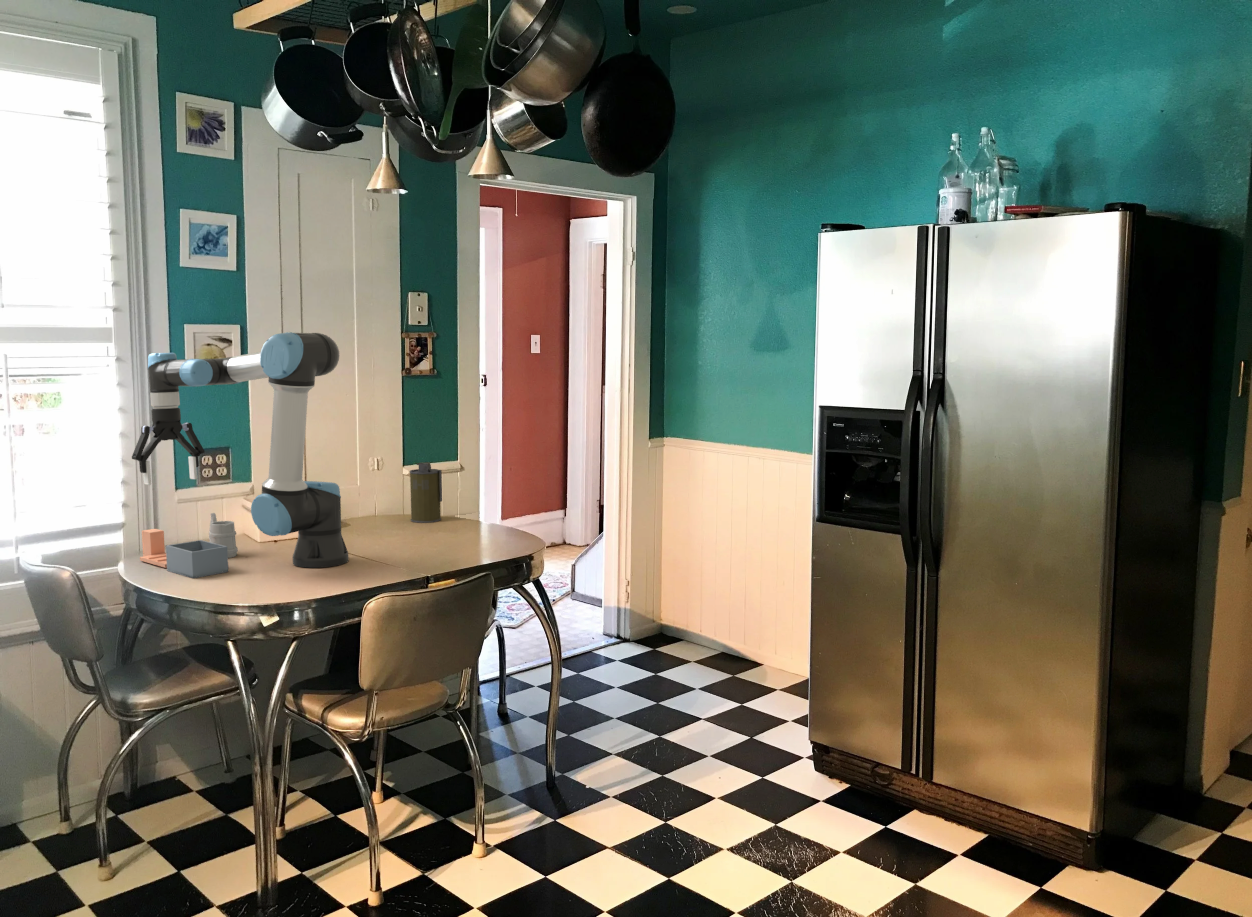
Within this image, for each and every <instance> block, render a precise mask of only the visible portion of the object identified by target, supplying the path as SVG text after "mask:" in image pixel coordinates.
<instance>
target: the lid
mask: <svg viewBox="0 0 1252 917" xmlns="http://www.w3.org/2000/svg"><path fill="white" fill-rule="evenodd" d="M141 543H142V556H139V561H141V562H144V563H146V564H147V563H148V564H151V565H154V566H158V567H161V568H165V569H167V558H166V545H165V531H164V529H158V528H152V529H149V528H148V529H144V530H141Z"/></svg>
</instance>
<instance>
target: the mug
mask: <svg viewBox="0 0 1252 917" xmlns="http://www.w3.org/2000/svg"><path fill="white" fill-rule="evenodd" d="M236 531H237V530H236V528H235V521H233V520H232V521H231V520H219V521H218V520H217V515H216V513H215V512H212V513H210V523H209V532H208V539H209V542H211V543H215V544H219V545H223V546H227V553H228V559H230V558H234V557H236V556H237V555H238V553H237V552H238V550H239V549H238V546H237V540H236V535H237V532H236Z"/></svg>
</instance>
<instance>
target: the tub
mask: <svg viewBox="0 0 1252 917" xmlns="http://www.w3.org/2000/svg"><path fill="white" fill-rule="evenodd" d="M165 553H166V558H167V568H166V570H167V572H170V573H173V574H176V575H180V576H183V577H187V578H190V579H197V578H202V577H208V576H214V575H219V574H224V573H228V572H229V558H228V553H227V546H223V545H219V544H215V543H211V542H210V541H206V540H204V539H203V540H202V539H199V540H192V541H187V542H186V541H185V542H180V543H174V544H173V543H172V544H167V545H165Z"/></svg>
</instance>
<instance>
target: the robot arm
mask: <svg viewBox="0 0 1252 917" xmlns="http://www.w3.org/2000/svg"><path fill="white" fill-rule="evenodd" d="M339 350H340V349H339V346H338V344H337V343H336V342H335V341H334V340H333V339H332V338H331V337H330V336H328V335H327V334H323V333H320V332H281V333H275V334H273V335H271V336H270V337H269V338H268V339H267V340H266V341H265V342H264V343H263V345H262V347H261V350H260V351H259V352H251V353H247V354H246V353H245V354H241V355H234V356H228V357H224V358H222V357H221V358H220V357H219V358H187V359H178V358H177V354H176V353H175V352H153V353H150V354H148V357H147V370H148V382H149V391H150V393H149V395H150V396H149V397H150V406H151V407H153V408H152V409H151V410H150V411H151V421H152V426H148V425H142V426H141V429H140V431H141V432H140V436H139V438H138V440H137V443H136V446H135V448H134V451H133V452H132V455H131V459H132V460H135V461H137V462H138V463H139V464H138V465H139V472H140V473H141V474H142V475H143V476H142V478H143V485H149V486H150V485H152V478H151V476H152V475H151V463H150V460H148V459H149V457H151V454H153V452H154V450H155V449H156V447H157V446H158V444H160V443H161V442H162V441H170V440H171V441H172V440H173V441H175V440H176V441H177V442H178V443H179V444H180V445H181V446H182V447H183V449H185V450H186V451H187V452H188V453H189V454H190V455H191V456H188V470H189V471H188V472H189V479H190V480H197V479H198V473H197V472H198V470H197V468H199V466H200V463H199V462H200V460H199V457H201V455H202V454H204V453H205V449H204V447H203V446H202V444H201V441H200V440H199V439H198V437H197V435H196V433H195V431H194V429H193V424H192V422H184V423H182V422H181V419H182V418H181V416H182V415H181V408H180V407H179V406H181V402H180V401H181V399H180V389H179V387H191V388H192V387H193V388H194V387H198V388H199V387H203V386H216V385H236V384H241V383H242V382H247V381H255V380H259V379H260V380H261V379H262V380H263V379H267V380H268V384H269V385H270V386H271V387H272V389H273V398H272V399H273V400H272V417H271V434H270V448H269V450H270V451H269V466H268V467H269V468H268V478H267V479H266V480H264V481H263V482H262V483H261V494H258V495H257V496H256V497H255V498H254V499H253V500H252V502H251V506H250V513H251V514H250V515H251V518H252V521H253V523H254V525H255V526H256V527H257V528H258V530H259V531H260V532H261V533H263V534H265V535H266V536H270V537H278V536H287V535H289V534H293V533H298V534H297V541H296V543H295V547H294V551H293V553H292V564H293V566H295V567H299V568H310V569H311V568H312V569H313V568H318V569H319V568H329V567H337V566H341V565H345V564H346V563H348V562H349V552H348V549H347V546H346V543H345V540H344V538H343V535H342V514H341V512H342V510H341V509H342V508H341V506H342V504H341V502H342V501H341V498H342V496H341V491H340V490H341V489H340V486H339V484H337V483H335V482H330V481H329V482H328V481H317V480H315V481H314V480H313V481H312V480H311V481H310V480H303V471H304V459H305V458H304V457H305V456H304V455H305V446H306V445H305V441H306V429H307V428H306V426H307V414H308V398H309V391H310V390H312V389H313V388H314V387H315V381H316V377H323V376H325V375H328V374H329V373H331V372H333V371H334V370H335V368H336V367H337V365H338V364H339V362H340V351H339ZM182 430H183V432H185V434H186V436H187V438H188V439H189V441H190V442H189V441H188V440H187V439H186V438H185V436H184V435H183V434H182V433H181V431H182ZM152 432H153V435H152V437H151V438H150V441H149V443H148V444H147V442H148V440H149V437H150V434H152ZM146 444H147V445H146Z"/></svg>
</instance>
